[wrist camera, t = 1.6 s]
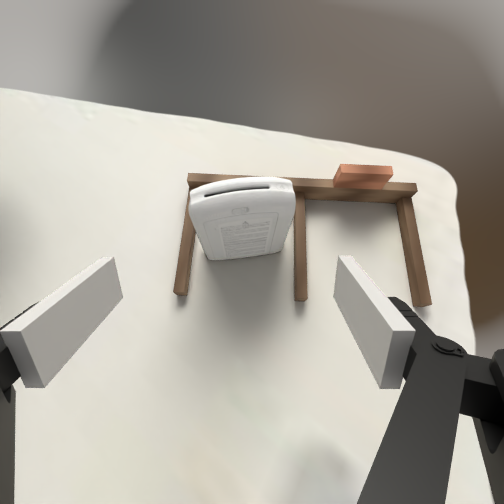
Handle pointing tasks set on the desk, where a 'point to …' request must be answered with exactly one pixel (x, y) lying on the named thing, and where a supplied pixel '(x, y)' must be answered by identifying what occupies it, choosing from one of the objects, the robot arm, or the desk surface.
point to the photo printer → (242, 216)
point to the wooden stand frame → (339, 189)
